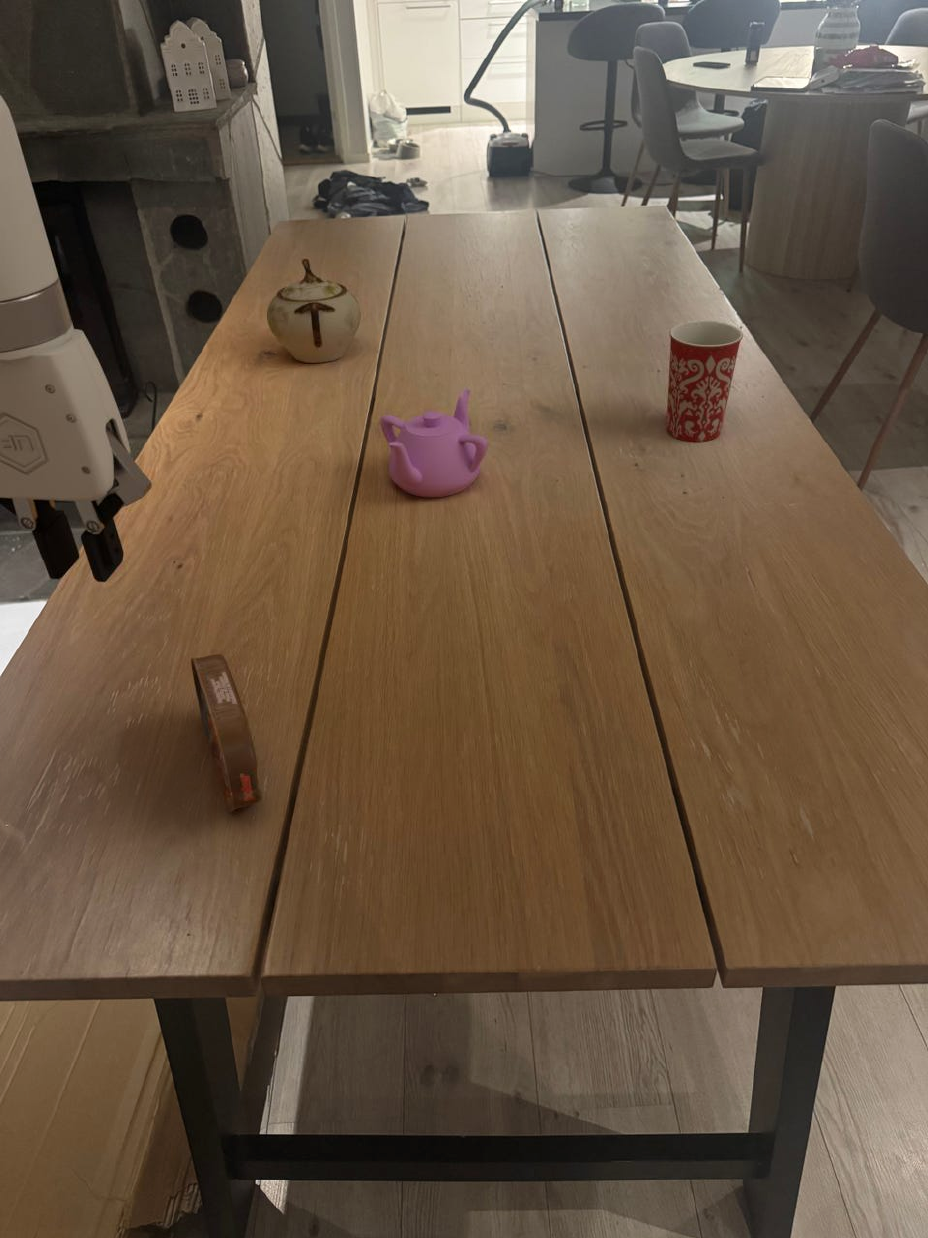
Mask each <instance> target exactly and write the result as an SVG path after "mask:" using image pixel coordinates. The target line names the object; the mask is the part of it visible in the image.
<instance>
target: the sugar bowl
mask: <svg viewBox="0 0 928 1238" xmlns="http://www.w3.org/2000/svg"><path fill="white" fill-rule="evenodd" d="M301 264H302V266H303V268H304V273H305V274H304V277H303V279H301V280H297V281H295V282H292V283H290V284H289V285H287V286H285V287H282V288H281V289H279V290H278V291H277V292H276V294H275V296H273V298H272V299H271V301H270V302H269V304H268V307H267V310H266V320H267V325H268V327H269V330H270V332H271V333H272V334H273V336H274V337H275V338H276V340H277V341H278V342H279V343H280V345H282V346H283V347H284V348H285V349H286V350H287V351H288V352H289V353H290V355H291V356H292V357H293V358H294V359H295V360H296V361H299V362H303V363H308V364H309V363H310V364H312V363H313V364H316V363H317V364H318V363H327V362H332V361H336V360H338V359H340V358H341V357H343V356H344V354H345V353H346V350H347V349H348V347H349V345H350V344H351V342H352V340H353V339H354V337H355V335H356V333H357V332H358V330H359V327H360V323H361V319H362V311H361V306H360V304H359V301H358V299H357V298H356V297H355V295H354V294H353V293H352V292H351V291H350V290H348V289H347V287H346V286H345V285H343V284H341V283H338V282H334V281H332V280H328V279H322V278H321V277H318V276H316V275H315V273H313V271H312V269H311V263H310V260H309V259H308V258H303V259H302V260H301Z"/></svg>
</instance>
